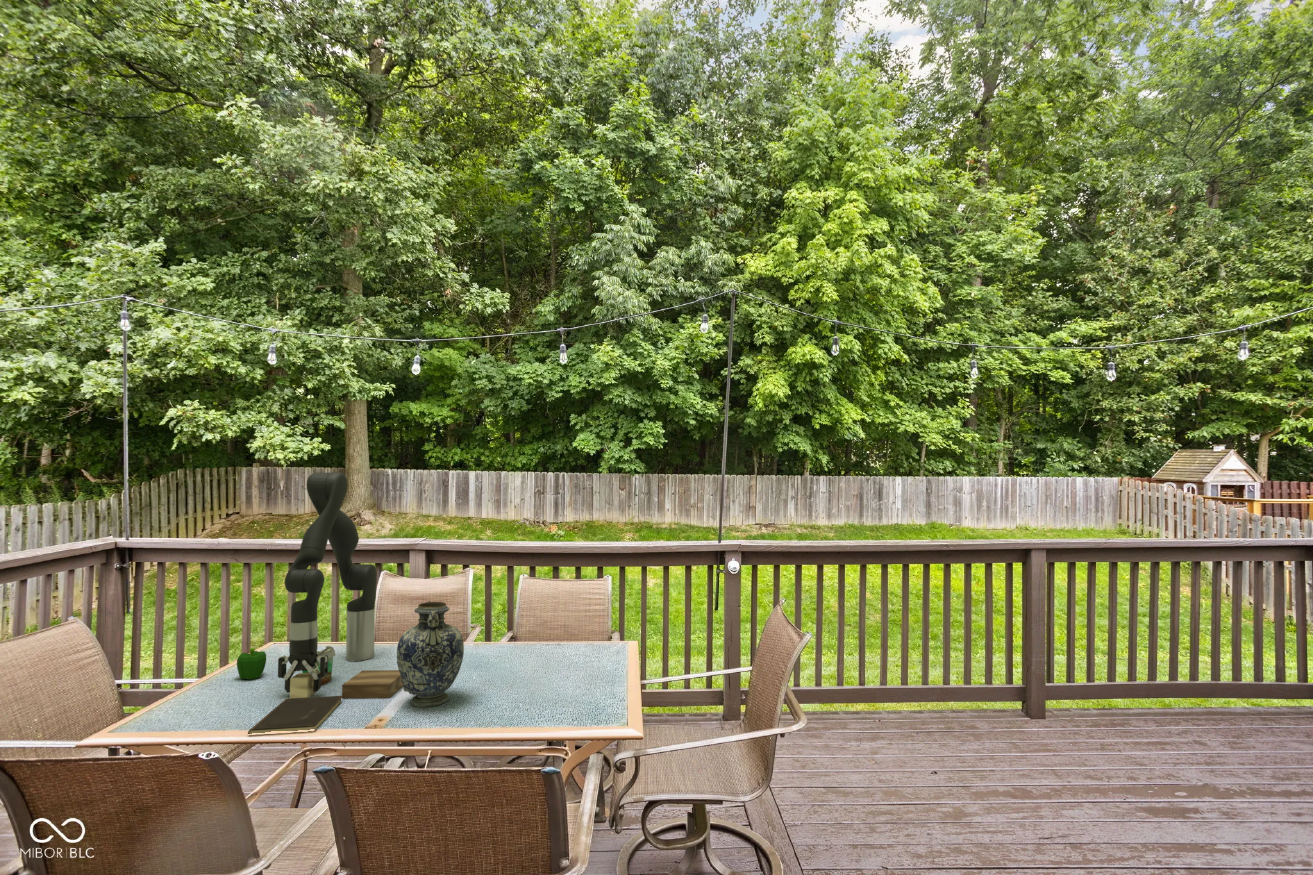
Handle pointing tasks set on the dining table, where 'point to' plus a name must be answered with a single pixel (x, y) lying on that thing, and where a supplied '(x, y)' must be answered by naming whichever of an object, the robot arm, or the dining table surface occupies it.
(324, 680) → the half round tub
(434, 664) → the decorative vase
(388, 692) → the block
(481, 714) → the dining table surface
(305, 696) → the maple block
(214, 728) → the dining table surface
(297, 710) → the hardcover book
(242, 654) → the bell pepper
